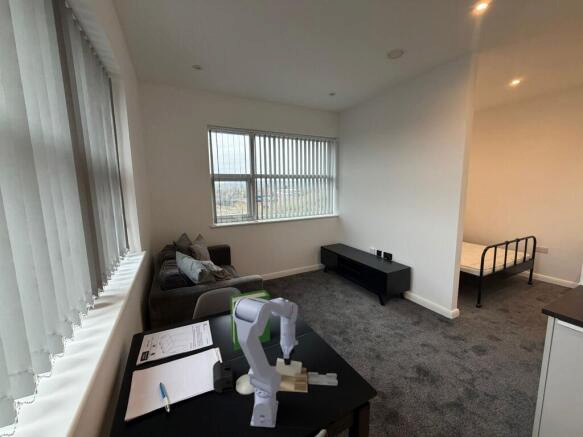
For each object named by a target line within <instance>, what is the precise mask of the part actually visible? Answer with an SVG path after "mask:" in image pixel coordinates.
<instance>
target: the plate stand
mask: <svg viewBox="0 0 583 437" xmlns="http://www.w3.org/2000/svg"><path fill="white" fill-rule="evenodd" d="M337 375H338V374H337V373H333V372H331V373H327V372H326V374H319V372H314V371H313V372H311V371H308V372H307V377H308V378H307V384H308V385H322V386H338V383H339V382H338V380H337V377H338V376H337Z"/></svg>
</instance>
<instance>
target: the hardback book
mask: <svg viewBox="0 0 583 437" xmlns="http://www.w3.org/2000/svg"><path fill="white" fill-rule="evenodd" d="M242 297H245V298H247V299H248V297H251V298H260V299H264V300H268V301H271V300H270V297H271V296H270V294H269V293H268V292H267V290H265V289H263V290H258V291H251V292H246V293H241V294H236V295H230V328H231V330H230V331H231V343H232V344H233V343H234V351H235V352H236V351H238V350H242V348H241V346H240V343H239V341H238V335H237V325H236V323H235V320H234V318H233V316H232V315H233V311H234V307H235V304H236V302H237V301H238V300H239V299H240V298H242ZM270 319H271V316H270V317H269V319H268V322H267V324H266V327H265V330H264V332H263V334H262V335H261V336H259V337H258V338H259V341H260V343H261V344H263V343H266V342H269V341H271V327H270V326H271V322H270V321H271V320H270ZM248 322H249V321H248ZM251 323H253V322H251Z"/></svg>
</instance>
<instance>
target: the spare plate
mask: <svg viewBox="0 0 583 437" xmlns="http://www.w3.org/2000/svg"><path fill="white" fill-rule="evenodd" d="M235 390H236V391H237V392H238V393H239V394H240V395H251V394H253V393H255V390H254V389H253V385H251V384H250V383H249V375H248V373H246V374H244V375H241V376H240V377H239V378H238V379H237V380H236V382H235Z"/></svg>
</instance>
